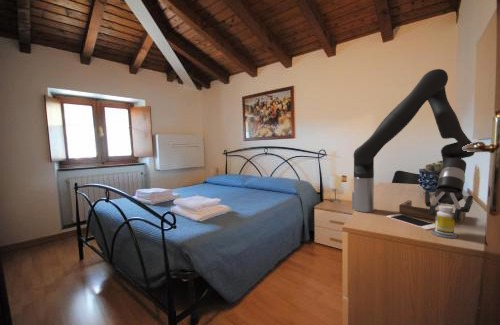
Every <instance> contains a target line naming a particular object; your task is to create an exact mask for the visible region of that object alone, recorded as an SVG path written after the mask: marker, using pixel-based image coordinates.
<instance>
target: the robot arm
mask: <svg viewBox="0 0 500 325" xmlns="http://www.w3.org/2000/svg"><path fill="white" fill-rule="evenodd" d="M448 81H449V76H448V72H447V71H446V70H444V69H442V68H435V69H432V70H430V71H428V72H426V73H425V74H424V75H423V76H422V78H420V80H419V82H417V84H416V85H415V86H414V88H413V89H412V90H411V91H410V93H409V94H407V96H406V97H405V98H403V100H401V101H400V102H399V103H398V104H397V106H395V107H394V108H393V109H392V110H391V111H390V112H389V113H388V114H387V116H386V117H385V118H384V119H382V121H381V122H380V124H379V125H378V126H377V127H376V129H375V130H374V132H373V133H372V135H370V137H368V139H367V140H366V141H364V142H363V143H362V144H361V145H360V146H358V147H357V148H355V150H354V152H353V190H352V192H351V210H354V211H356V212H360V213H372V212H374V208H375V206H374V204H375V202H374V201H375V200H374V199H375V198H374V197H375V196H374V194H375V192H374V188H375V187H374V186H375V185H374V184H375V178H374V177H375V175H374V174H375V168H374V167H375V166H374V165H375V164H374V163H375V162H374V161H375V157H376V156H377V155H378V153H380V151H381V150H382V149H383V147H384V146H385V145H386V144H388V143H389V142H390V141H392V139H394V138H395V137H396V136H397V135H399V133H400V132H402V131H403V130H404V129H405V127H406V126H408V125H409V124H410V122H412V120H413V119H414V117H415V116H416V115H417V114H418V112H419V111H420V110H421V108H422V106H424V104H425V103H426V102H428V103H429V105H430V108H431V111H432V113H433V116H434V120H435V122H436V123H435V124H436V126H437V128H438V129H437V130H438V131H439V135H440V137H441V138H442V139H444V140H445V139H446V140H448V139H454V140H455V141H456V142H453V143H449V144H446V145H443V147H442V148H441V150H440V155H441V157H442V168H441V172H440V173H439V176H438V181H437V186H436V189H435V190H434V191H429V190H425V192H424V204H425V206H426V208H427V207H429V208H428V209H429V214H430V215H431V217H434V214H435V210H437V209H436V208H437V207H439V206H440V205H442V204H444V205H446V204H447V205H450V206H452V205H453V208H455V210H454V213H455V214H454V221H457V220H460V217H461V213H462V212H466V213H469V212H470V210H471V207H472V206H473V202H474V196H473V195H464V194H463V192H464V187H465V182H466V181H465V180H466V175H465V174H466V170H467V162H466V161H465V160H464V159H466V158H470V157H473V156H474V155H475V153H476V151H475V152H467V151H463V150H462V147H463V146H465V145H467V144H470V143H473V142H472V141H471V140H470V138H469V137H467V135H466V133H465V132H464V131H463V128H462V127H461V124H460V120H459V117H458V116H457V114H456V112H455V111H454V109H453V108H452V106H451V104H450V102H449V99H448V96H447V92H446V85H447V83H448ZM433 196H434V197H435V198H433ZM432 198H433V201H432V202H431V199H432ZM462 200H464V202H465V203H464V206H461V205H460V203H459V202H460V201H462Z"/></svg>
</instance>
